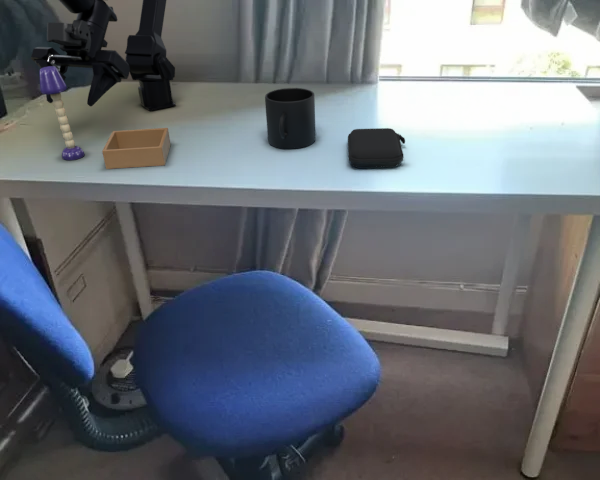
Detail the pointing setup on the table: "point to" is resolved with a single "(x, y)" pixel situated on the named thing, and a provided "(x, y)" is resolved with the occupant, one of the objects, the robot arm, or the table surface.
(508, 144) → the table surface
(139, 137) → the box
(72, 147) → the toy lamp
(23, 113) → the table surface
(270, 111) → the mug
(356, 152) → the carrying case
